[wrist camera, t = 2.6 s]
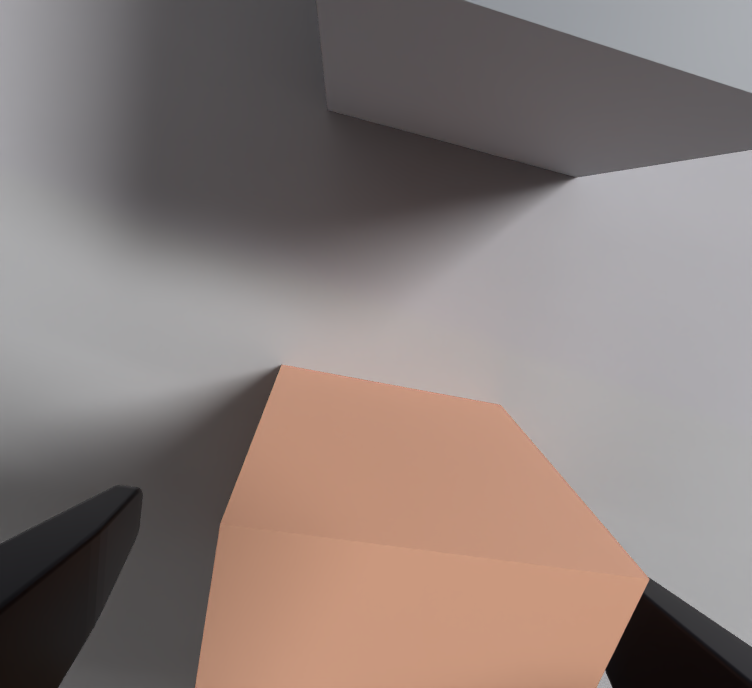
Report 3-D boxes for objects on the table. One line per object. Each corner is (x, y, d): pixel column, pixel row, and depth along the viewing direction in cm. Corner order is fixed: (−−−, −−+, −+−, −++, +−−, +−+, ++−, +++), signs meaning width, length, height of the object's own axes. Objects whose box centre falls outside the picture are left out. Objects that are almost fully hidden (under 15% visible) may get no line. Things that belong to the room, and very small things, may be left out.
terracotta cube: (442, 575, 11) (519, 845, 6) (248, 553, 10) (172, 835, 6) (499, 403, 10) (649, 579, 5) (282, 363, 9) (220, 524, 4)
